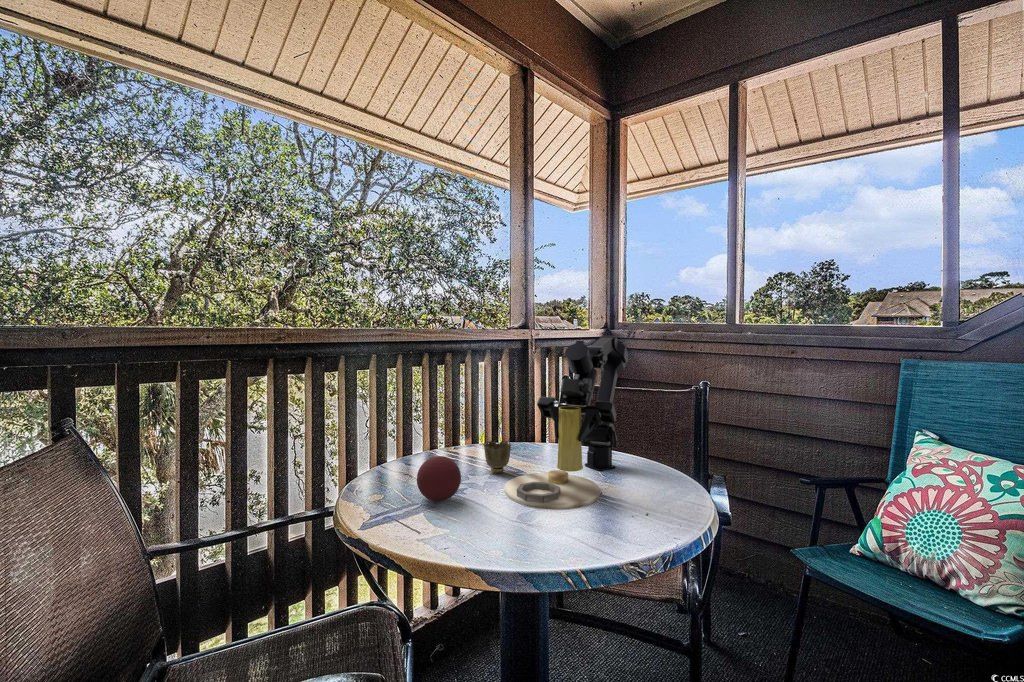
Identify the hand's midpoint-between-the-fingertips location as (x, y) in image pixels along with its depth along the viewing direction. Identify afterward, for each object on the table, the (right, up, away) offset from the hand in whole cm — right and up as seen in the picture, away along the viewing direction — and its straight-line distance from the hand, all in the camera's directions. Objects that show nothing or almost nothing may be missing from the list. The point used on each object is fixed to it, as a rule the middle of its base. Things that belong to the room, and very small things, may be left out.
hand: (567, 439), depth 111 cm
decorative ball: (-30, -14, -2) cm, 33 cm away
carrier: (-3, -13, +4) cm, 14 cm away
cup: (-17, -13, +19) cm, 29 cm away
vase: (+1, -7, +2) cm, 7 cm away
